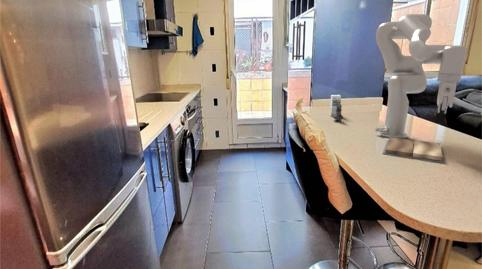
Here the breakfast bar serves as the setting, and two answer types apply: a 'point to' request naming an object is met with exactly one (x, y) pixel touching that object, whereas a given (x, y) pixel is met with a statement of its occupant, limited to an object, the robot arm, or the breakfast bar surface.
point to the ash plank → (427, 150)
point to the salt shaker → (338, 114)
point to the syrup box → (334, 104)
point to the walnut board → (400, 147)
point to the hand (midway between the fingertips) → (439, 122)
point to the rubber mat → (415, 157)
